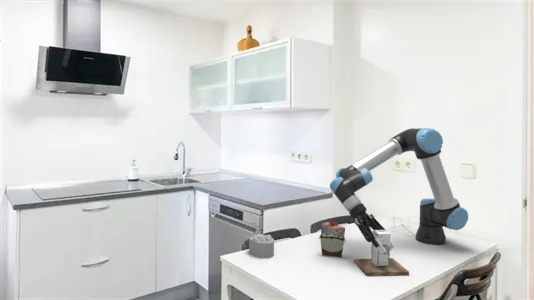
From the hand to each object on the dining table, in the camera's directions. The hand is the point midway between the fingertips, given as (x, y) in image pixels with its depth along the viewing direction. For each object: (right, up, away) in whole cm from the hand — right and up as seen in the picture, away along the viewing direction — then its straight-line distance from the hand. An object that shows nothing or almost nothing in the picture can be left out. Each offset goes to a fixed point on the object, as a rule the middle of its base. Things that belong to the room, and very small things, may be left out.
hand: (388, 250), depth 153 cm
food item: (-16, -6, +43) cm, 47 cm away
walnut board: (-3, -8, +3) cm, 9 cm away
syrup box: (-3, -7, +3) cm, 8 cm away
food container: (-20, -8, +19) cm, 29 cm away
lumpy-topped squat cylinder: (-54, -7, +19) cm, 58 cm away
